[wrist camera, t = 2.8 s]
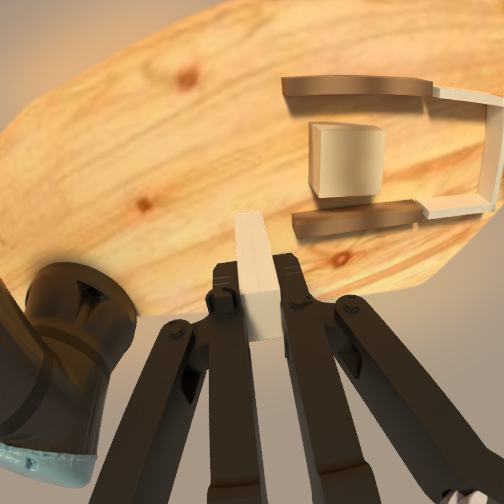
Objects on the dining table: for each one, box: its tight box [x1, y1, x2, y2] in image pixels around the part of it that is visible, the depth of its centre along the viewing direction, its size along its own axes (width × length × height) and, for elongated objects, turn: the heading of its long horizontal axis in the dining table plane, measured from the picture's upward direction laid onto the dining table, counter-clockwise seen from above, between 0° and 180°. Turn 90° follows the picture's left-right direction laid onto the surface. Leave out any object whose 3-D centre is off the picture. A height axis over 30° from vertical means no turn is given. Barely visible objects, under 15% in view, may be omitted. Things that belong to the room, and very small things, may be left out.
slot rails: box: [281, 75, 433, 239], centre depth 28 cm, size 14×15×2 cm
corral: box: [415, 85, 504, 220], centre depth 28 cm, size 11×14×3 cm
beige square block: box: [308, 122, 387, 198], centre depth 28 cm, size 6×6×4 cm
